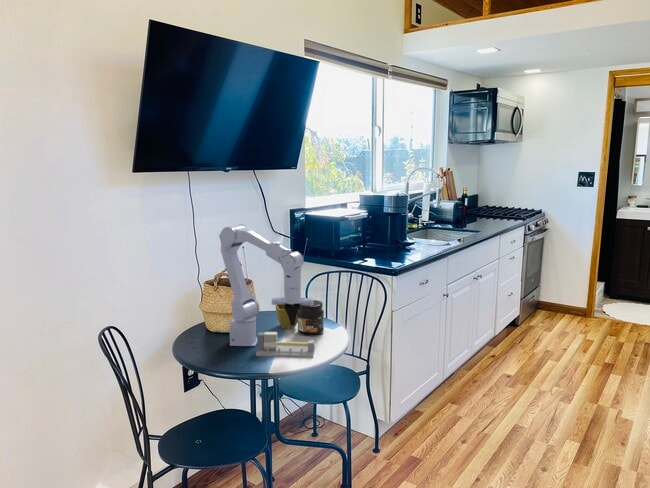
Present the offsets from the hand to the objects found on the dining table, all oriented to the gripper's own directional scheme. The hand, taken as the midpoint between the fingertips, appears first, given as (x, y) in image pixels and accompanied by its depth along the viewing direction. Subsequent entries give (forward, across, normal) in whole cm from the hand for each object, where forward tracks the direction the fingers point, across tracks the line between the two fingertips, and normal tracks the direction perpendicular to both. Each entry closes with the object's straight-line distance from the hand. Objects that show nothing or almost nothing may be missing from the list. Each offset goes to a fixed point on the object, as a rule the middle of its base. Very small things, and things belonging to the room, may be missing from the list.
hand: (292, 324), depth 173 cm
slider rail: (+10, -2, 0) cm, 10 cm away
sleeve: (+9, -8, 0) cm, 12 cm away
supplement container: (+10, +5, +21) cm, 24 cm away
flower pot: (+10, -5, +27) cm, 29 cm away
